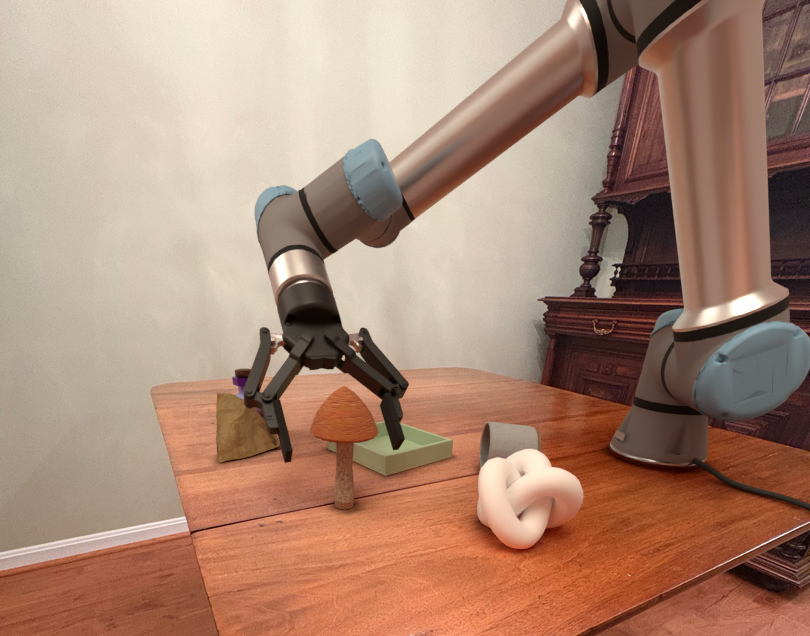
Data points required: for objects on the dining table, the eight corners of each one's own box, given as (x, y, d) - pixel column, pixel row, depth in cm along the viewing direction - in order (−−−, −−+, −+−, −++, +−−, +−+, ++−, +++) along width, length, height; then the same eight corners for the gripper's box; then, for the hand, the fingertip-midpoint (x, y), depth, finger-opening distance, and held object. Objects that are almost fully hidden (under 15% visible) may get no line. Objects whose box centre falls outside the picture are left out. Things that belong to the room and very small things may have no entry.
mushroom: (385, 517, 52) (385, 391, 45) (320, 524, 50) (309, 393, 43) (371, 492, 59) (369, 378, 52) (313, 497, 57) (303, 380, 50)
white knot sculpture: (448, 513, 54) (454, 444, 49) (531, 504, 57) (544, 438, 52) (487, 560, 44) (498, 479, 40) (585, 546, 47) (605, 470, 43)
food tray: (451, 457, 73) (453, 439, 71) (385, 476, 65) (385, 456, 63) (391, 435, 84) (391, 419, 82) (327, 449, 75) (326, 431, 74)
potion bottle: (231, 443, 77) (218, 373, 71) (228, 431, 84) (216, 366, 78) (280, 439, 80) (271, 371, 74) (273, 427, 87) (265, 364, 81)
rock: (280, 428, 78) (221, 422, 75) (281, 395, 70) (216, 387, 68) (279, 478, 74) (217, 474, 71) (279, 449, 66) (210, 444, 63)
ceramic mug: (538, 479, 65) (547, 429, 61) (484, 479, 64) (491, 428, 61) (520, 458, 74) (527, 413, 70) (473, 457, 74) (478, 412, 70)
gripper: (387, 325, 63) (428, 453, 58) (204, 324, 53) (236, 477, 49) (402, 282, 56) (450, 424, 52) (196, 273, 47) (233, 445, 42)
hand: (346, 450), depth 50 cm, fingers open, 13 cm apart
